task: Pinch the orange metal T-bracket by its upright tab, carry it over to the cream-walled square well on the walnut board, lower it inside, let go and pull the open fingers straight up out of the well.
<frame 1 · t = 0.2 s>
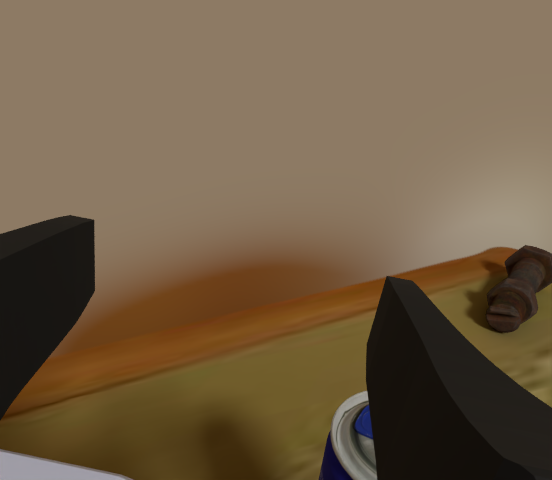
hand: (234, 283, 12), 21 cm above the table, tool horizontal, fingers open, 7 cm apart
bolt: (510, 309, 57), on the table
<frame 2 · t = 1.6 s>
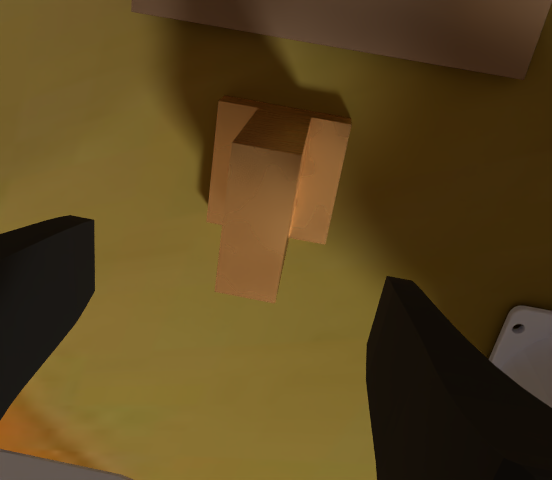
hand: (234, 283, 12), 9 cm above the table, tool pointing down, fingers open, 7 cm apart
bracket: (278, 167, 21), on the table
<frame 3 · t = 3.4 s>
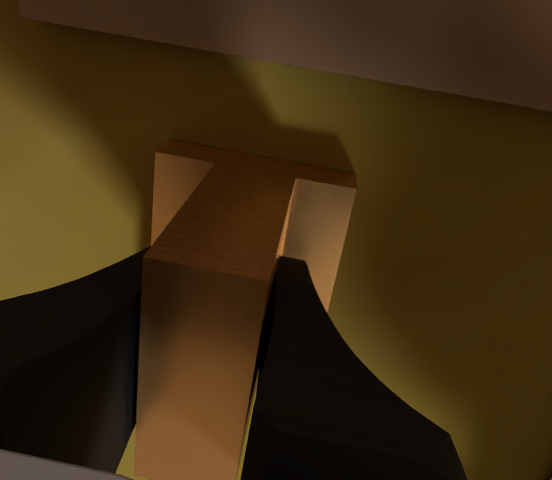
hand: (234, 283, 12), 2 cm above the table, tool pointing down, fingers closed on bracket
bracket: (250, 240, 14), on the table, touching gripper
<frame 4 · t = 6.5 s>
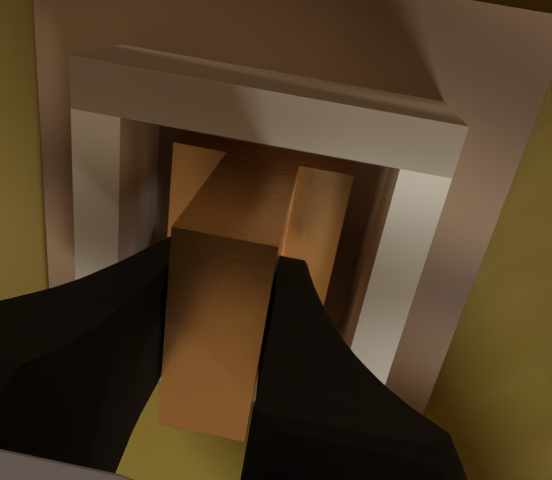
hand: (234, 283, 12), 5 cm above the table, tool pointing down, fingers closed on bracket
bracket: (257, 224, 16), point 1 cm above the table, touching gripper, well block
well block: (262, 211, 17), on the table
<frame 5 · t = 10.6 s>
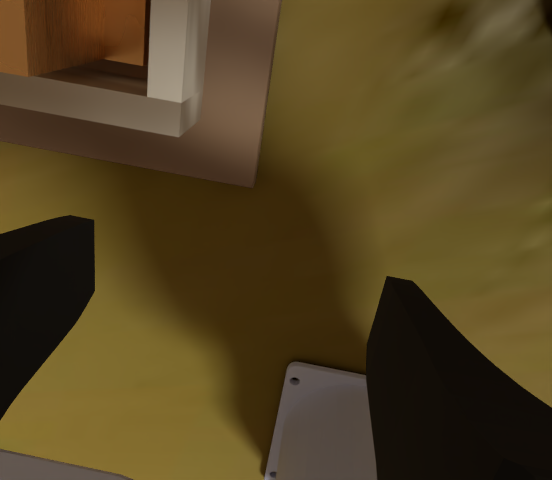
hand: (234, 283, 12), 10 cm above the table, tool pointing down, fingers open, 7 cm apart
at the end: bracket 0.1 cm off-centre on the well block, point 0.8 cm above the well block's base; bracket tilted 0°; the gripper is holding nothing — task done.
